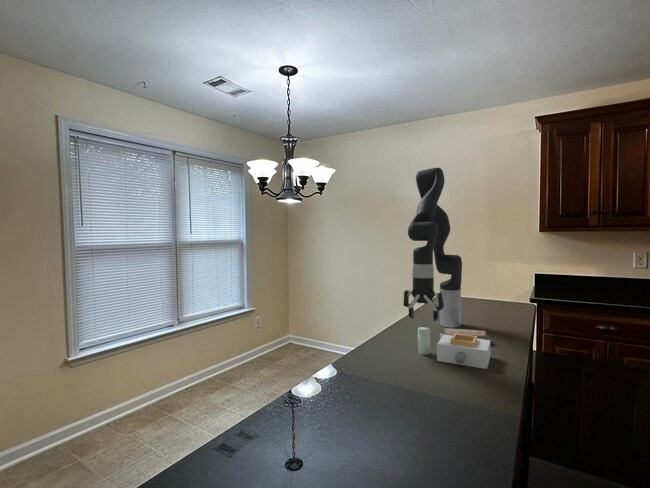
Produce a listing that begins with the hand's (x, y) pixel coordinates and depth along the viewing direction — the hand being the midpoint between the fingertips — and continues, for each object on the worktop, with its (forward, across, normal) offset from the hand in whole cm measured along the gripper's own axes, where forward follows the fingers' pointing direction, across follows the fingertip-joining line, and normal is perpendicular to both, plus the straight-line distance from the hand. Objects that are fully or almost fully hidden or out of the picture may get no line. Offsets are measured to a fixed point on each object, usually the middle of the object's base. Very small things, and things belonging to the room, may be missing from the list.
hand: (423, 319), depth 132 cm
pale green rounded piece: (+13, 0, 0) cm, 13 cm away
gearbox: (+13, -14, +1) cm, 19 cm away
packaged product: (+13, -11, -20) cm, 27 cm away
